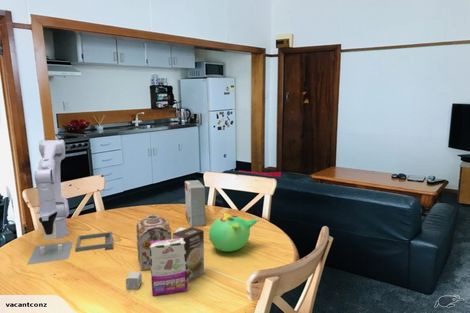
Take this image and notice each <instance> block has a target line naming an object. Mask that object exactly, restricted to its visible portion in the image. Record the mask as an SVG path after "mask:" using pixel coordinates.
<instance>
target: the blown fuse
mask: <svg viewBox="0 0 470 313" xmlns="http://www.w3.org/2000/svg"><path fill="white" fill-rule="evenodd" d="M42 232H43V240H52V239H53V238H55V239H57V238H56V236H57V235H56V224H55V220H54V223H53V232H52V234H50V235H46V233H45V231H44V228H43V227H42Z"/></svg>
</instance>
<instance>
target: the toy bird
mask: <svg viewBox="0 0 470 313" xmlns="http://www.w3.org/2000/svg"><path fill="white" fill-rule="evenodd" d="M258 221H259V220H258V218H254V219H248V220H245V219H244V218H242V217H241V216H239V215H235V214H233V215H232V214H229V213H227V212H224V213H223V216H221V217H219V218H217V219H216V220H215V221H214V222H212V224H211V226H210V228H209V231H208V236H209V240H210V243H211V245H212V246H213V247H214V248H216V249H217V250H219V251H221V252H236V251H238V250H241V248H243V247H244V246H245V245H246V244H247V242H248V241H249V239H250V234H251V228H252V227H253V226H254V225H256V224H257V223H258Z"/></svg>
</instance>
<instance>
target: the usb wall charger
mask: <svg viewBox="0 0 470 313" xmlns="http://www.w3.org/2000/svg"><path fill="white" fill-rule="evenodd" d="M142 275H143V274H142V272H141V271H129V274H128V275H127V277H126V278H125V288H126V290H128V291H130V290H131V291H133V290H134V291H135V290H139V288H140V286H141V284H142V282H143V281H142V280H143V279H142V278H143V277H142Z"/></svg>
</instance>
